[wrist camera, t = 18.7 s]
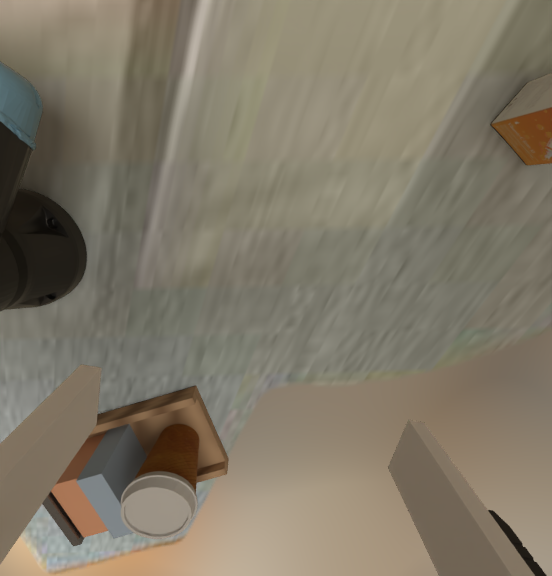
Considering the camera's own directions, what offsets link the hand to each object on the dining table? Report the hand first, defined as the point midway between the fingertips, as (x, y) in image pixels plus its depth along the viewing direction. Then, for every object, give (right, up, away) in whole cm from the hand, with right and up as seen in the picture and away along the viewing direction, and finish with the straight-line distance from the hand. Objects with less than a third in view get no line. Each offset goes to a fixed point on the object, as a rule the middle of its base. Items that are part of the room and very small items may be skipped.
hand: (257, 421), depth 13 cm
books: (-24, -22, +37) cm, 49 cm away
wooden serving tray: (-20, -20, +38) cm, 47 cm away
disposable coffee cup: (-15, -19, +37) cm, 44 cm away
